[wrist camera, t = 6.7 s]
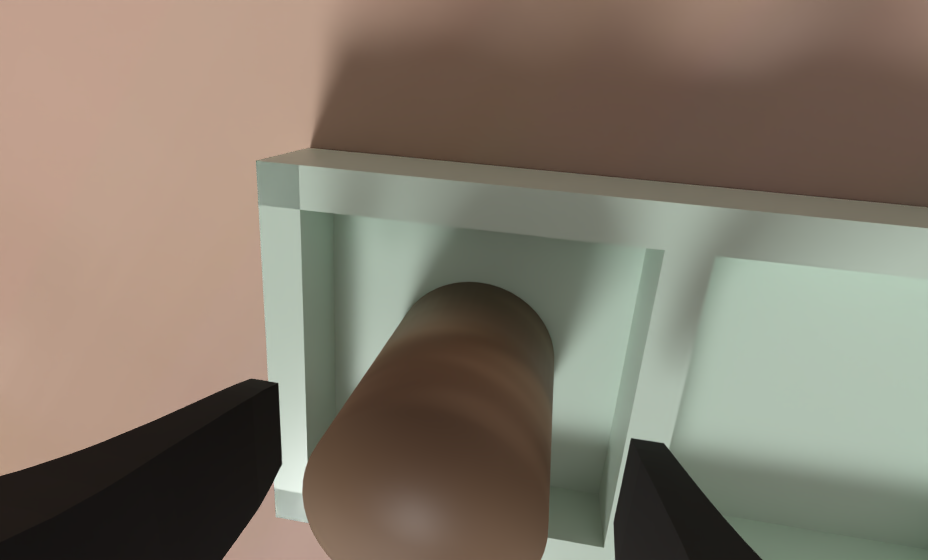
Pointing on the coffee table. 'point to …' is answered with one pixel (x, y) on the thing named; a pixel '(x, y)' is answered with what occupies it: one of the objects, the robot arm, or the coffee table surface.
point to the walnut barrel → (442, 438)
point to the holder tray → (631, 334)
